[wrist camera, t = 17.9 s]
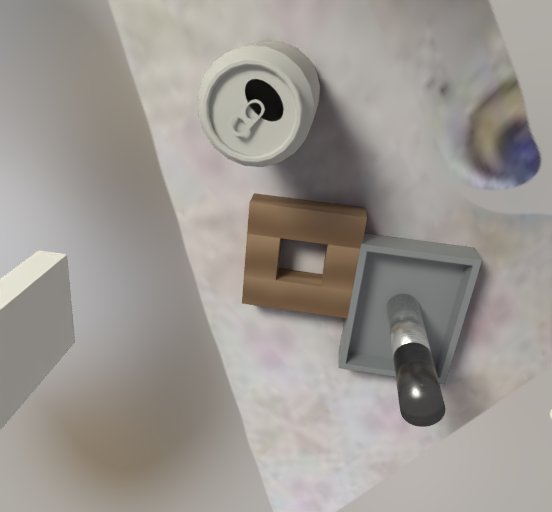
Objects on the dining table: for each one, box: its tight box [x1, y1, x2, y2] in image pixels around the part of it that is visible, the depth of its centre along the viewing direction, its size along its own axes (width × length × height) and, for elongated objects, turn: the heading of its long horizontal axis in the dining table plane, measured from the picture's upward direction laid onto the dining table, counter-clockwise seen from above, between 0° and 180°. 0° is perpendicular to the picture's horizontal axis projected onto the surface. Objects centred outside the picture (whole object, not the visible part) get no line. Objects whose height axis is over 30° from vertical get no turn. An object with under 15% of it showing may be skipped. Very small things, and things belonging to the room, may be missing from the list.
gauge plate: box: [242, 194, 367, 318], centre depth 46 cm, size 10×10×2 cm
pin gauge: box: [386, 294, 445, 427], centre depth 41 cm, size 3×3×14 cm
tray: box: [339, 233, 482, 384], centre depth 47 cm, size 13×10×3 cm
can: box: [198, 41, 320, 167], centre depth 36 cm, size 8×8×12 cm
